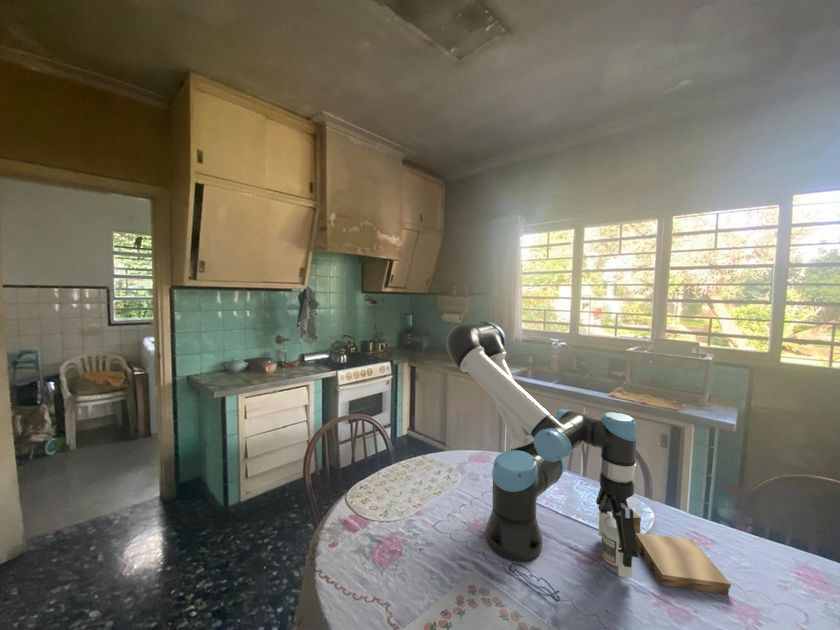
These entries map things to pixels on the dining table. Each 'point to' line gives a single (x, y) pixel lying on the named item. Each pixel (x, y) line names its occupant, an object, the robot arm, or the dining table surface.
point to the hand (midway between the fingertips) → (613, 554)
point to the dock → (681, 563)
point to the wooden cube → (635, 521)
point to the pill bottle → (610, 541)
